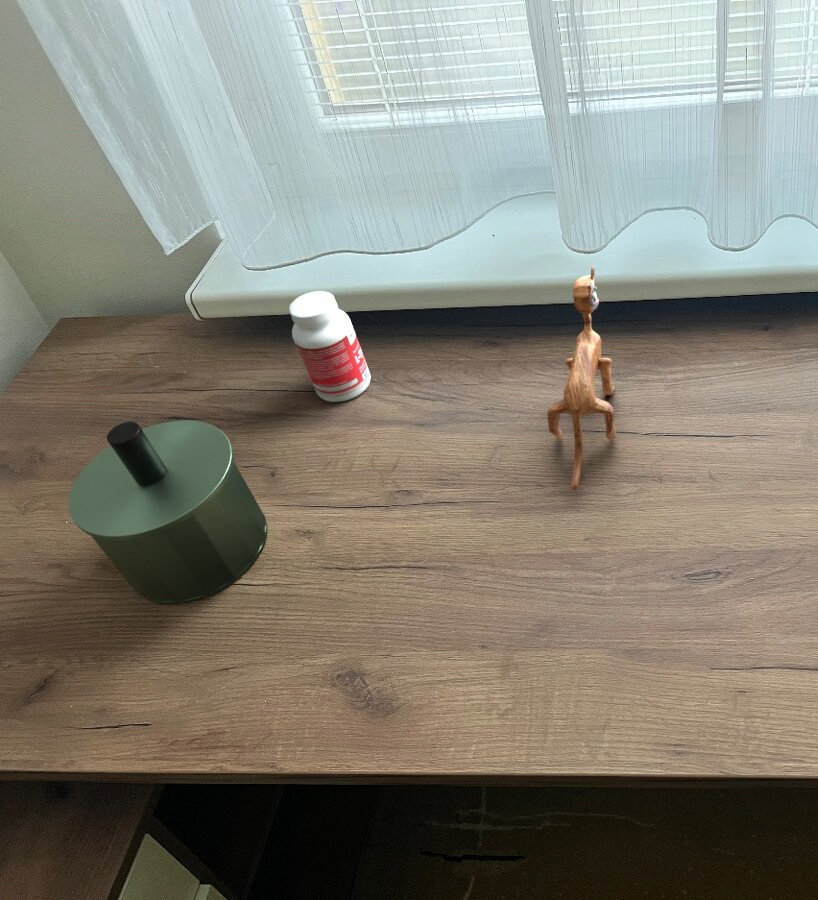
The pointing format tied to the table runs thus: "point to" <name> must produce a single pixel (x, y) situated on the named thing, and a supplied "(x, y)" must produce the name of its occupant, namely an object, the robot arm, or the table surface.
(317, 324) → the pill bottle
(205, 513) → the tin
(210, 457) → the tin lid
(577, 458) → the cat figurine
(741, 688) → the table surface
